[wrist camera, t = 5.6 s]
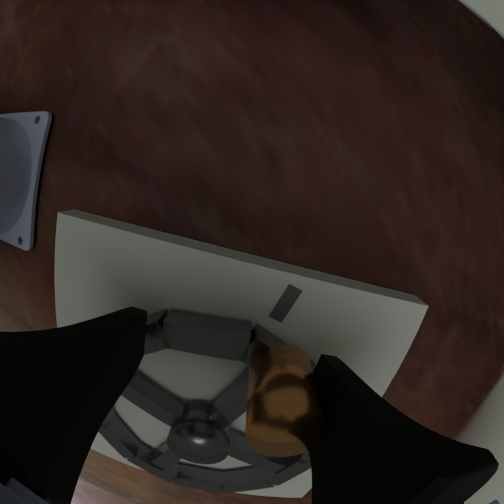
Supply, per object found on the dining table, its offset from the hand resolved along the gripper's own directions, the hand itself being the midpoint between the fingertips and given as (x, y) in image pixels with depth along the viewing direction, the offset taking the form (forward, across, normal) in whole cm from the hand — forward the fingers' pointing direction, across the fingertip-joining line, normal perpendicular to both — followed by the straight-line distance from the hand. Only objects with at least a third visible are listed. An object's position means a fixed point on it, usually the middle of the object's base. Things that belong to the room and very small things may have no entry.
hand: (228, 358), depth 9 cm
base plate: (+4, 0, +6) cm, 7 cm away
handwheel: (+2, 0, +6) cm, 6 cm away
